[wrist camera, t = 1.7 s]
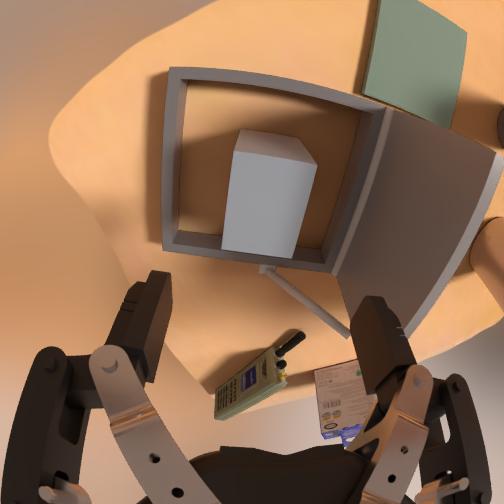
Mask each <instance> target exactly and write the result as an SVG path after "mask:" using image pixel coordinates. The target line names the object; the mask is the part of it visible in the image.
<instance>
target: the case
mask: <svg viewBox="0 0 504 504" xmlns="http://www.w3.org/2000/svg"><path fill="white" fill-rule="evenodd" d="M188 79H195V80H211V81H222V82H232V83H241V84H248V85H256V86H262V87H268V88H274V89H280V90H285V91H290V92H295V93H299V94H304V95H308V96H313V97H317V98H321V99H325V100H328V101H332V102H336V103H339V104H343V105H346V106H349V107H353V108H356V109H359V110H362V113H361V117H360V121H359V125H358V129H357V133H356V137H355V140H354V144H353V148H352V151H351V155H350V159H349V162H348V165H347V169H346V172H345V176H344V179H343V182H342V186H341V189H340V192H339V195H338V199H337V202H336V205H335V208H334V211H333V214H332V217H331V220H330V223H329V226H328V229H327V232H326V235H325V238H324V241H323V244H322V247H321V250H319V249H312V248H305V247H298V246H295V249H294V253H293V256H292V259H290V258H283V257H275V256H268V255H260V254H253V253H245V252H238V251H231V250H223V249H221V248H222V239H223V236H219V235H211V234H204V233H196V232H189V231H181V230H178V211H179V182H180V163H181V147H182V134H183V123H184V113H185V103H186V94H187V86H188ZM503 168H504V158H503V157H502V156H500V155H499V154H498V153H496V152H494V151H493V150H491V149H489V148H487V147H485V146H483V145H481V144H479V143H477V142H475V141H473V140H471V139H469V138H467V137H465V136H462V135H460V134H458V133H456V132H453V131H451V130H449V129H446V128H444V127H442V126H439V125H437V124H434V123H431V122H429V121H426V120H423V119H421V118H418V117H415V116H412V115H409V114H406V113H403V112H400V111H397V110H394V109H391V108H388V107H385V106H383V105H380V104H377V103H375V102H372V101H369V100H366V99H363V98H360V97H357V96H354V95H351V94H348V93H344V92H341V91H337V90H334V89H330V88H327V87H323V86H319V85H315V84H311V83H307V82H302V81H298V80H293V79H288V78H283V77H278V76H272V75H266V74H260V73H253V72H245V71H237V70H227V69H216V68H200V67H169V75H168V84H167V93H166V103H165V115H164V129H163V148H162V179H161V217H162V249H163V251H168V252H175V253H182V254H189V255H196V256H203V257H211V258H218V259H226V260H233V261H240V262H248V263H256V264H259V274H266V275H267V276H268V277H269V278H271V279H272V280H273V281H274V282H276V283H277V284H278V285H279V286H281V287H282V288H283V289H284V290H286V291H287V292H288V293H289V294H291V295H292V296H293V297H294V298H296V299H297V300H298V301H299V302H301V303H302V304H303V305H304V306H306V307H307V308H308V309H309V310H311V311H312V312H313V313H314V314H316V315H317V316H318V317H319V318H321V319H322V320H323V321H324V322H326V323H327V324H328V325H329V326H331V327H332V328H333V329H334V330H336V331H337V332H338V333H339V334H341V335H342V336H343V337H344V338H346V339H348V338H349V336H350V335H351V333H350V330H349V329H348V328H347V327H346V326H344V325H343V324H342V323H340V322H339V321H338V320H337V319H335V318H334V317H333V316H331V315H330V314H329V313H328V312H326V311H325V310H324V309H322V308H321V307H320V306H319V305H317V304H316V303H315V302H313V301H312V300H311V299H310V298H308V297H307V296H306V295H305V294H303V293H302V292H301V291H299V290H298V289H297V288H296V287H294V286H293V285H292V284H290V283H289V282H288V281H287V280H285V279H284V278H283V277H281V276H280V275H279V274H278V273H276V272H275V271H276V268H277V266H279V267H286V268H294V269H302V270H310V271H318V272H326V273H331V274H332V275H333V276H335V277H337V280H338V283H339V286H340V289H341V292H342V296H343V299H344V302H345V305H346V308H347V312H348V315H349V318H350V322H351V319H352V317H353V316H354V314H355V312H356V310H357V309H358V307H359V305H360V303H361V302H362V300H363V298H364V297H365V296H367V295H369V296H381V297H383V298H384V300H385V302H386V304H387V306H388V308H389V309H391V310H392V311H393V312H394V313H395V315H396V316H397V317H398V319H399V321H400V323H401V326H402V329H403V330H404V333H405V337H407V340H408V338H409V337H410V336H411V335H412V333H413V332H414V331H415V330H416V328H417V327H418V326H419V324H420V323H421V322H422V320H423V319H424V318H425V316H426V315H427V314H428V312H429V311H430V309H431V308H432V307H433V305H434V304H435V302H436V301H437V299H438V298H439V296H440V295H441V293H442V292H443V290H444V289H445V287H446V286H447V284H448V283H449V281H450V279H451V278H452V276H453V275H454V273H455V271H456V270H457V268H458V266H459V265H460V263H461V261H462V259H463V258H464V256H465V254H466V252H467V250H468V248H469V247H470V245H471V243H472V241H473V239H474V237H475V235H476V233H477V231H478V229H479V227H480V225H481V223H482V221H483V219H484V216H485V214H486V212H487V210H488V207H489V205H490V203H491V200H492V198H493V195H494V193H495V190H496V188H497V185H498V183H499V180H500V177H501V174H502V171H503Z"/></svg>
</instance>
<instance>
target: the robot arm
mask: <svg viewBox="0 0 504 504" xmlns="http://www.w3.org/2000/svg"><path fill="white" fill-rule="evenodd" d="M470 263H471V266H472V267H473V269H474V270H475V271H476V273H477V274H478V275H479V277H480V278H481V280H482V281H483V282H484V284H485V285H486V287H487V288H488V290H489V291H490V292H491V294H492V295H493V297H494V298H495V300H496V301H497V303H498V304H499V306H500V307H501V309H502V311H503V312H504V218H502V217H499V218H495V219H493V220H492V221H490V222H489V223H488V224H487V225H486V226H485V227H484V228H483V229H482V230H481V232H480V233H479V234H478V236H477V238H476V239H475V241H474V244H473V246H472V249H471V253H470ZM172 304H173V299H172V282H171V273H169V272H162V271H155V270H152V271H151V272H150V274H149V276H148V279H147V281H146V283H145V282H139V281H137V282H136V283H135V284H134V285H133V286H132V287H131V288H130V289H129V290H128V292H127V294H126V296H125V298H124V302H123V303H122V305H121V308H120V311H119V312H118V314H117V316H116V319H115V321H114V324H113V326H112V329H111V331H110V334H109V336H108V338H107V340H106V343H105V344H104V346H101V347H99V348H98V349H96V350H95V351H94V352H93V353H92V354H90V355H83V356H82V355H81V356H66V355H65V353H64V352H63V351H62V350H61V349H59V348H57V347H53V346H51V347H46V348H44V349H42V350H41V351H39V352H38V354H37V355H36V357H35V359H34V361H33V364H32V366H31V369H30V372H29V374H28V377H27V380H26V383H25V386H24V388H23V391H22V394H21V398H20V401H19V404H18V407H17V411H16V414H15V418H14V421H13V425H12V429H11V433H10V438H9V442H8V448H7V453H6V458H5V464H4V470H3V478H2V487H1V504H91V499H90V497H89V495H88V493H87V492H86V491H85V490H84V489H83V488H82V487H81V486H79V485H78V482H79V474H80V467H81V459H82V452H83V446H84V441H85V435H86V430H87V425H88V420H89V415H90V411H91V409H92V408H93V409H95V408H104V409H105V411H106V413H107V416H108V418H109V420H110V428H111V431H112V433H113V435H114V437H115V440H116V442H117V444H118V446H119V448H120V450H121V452H122V454H123V455H124V457H125V459H126V461H127V463H128V465H129V466H130V468H131V470H132V471H133V473H134V475H135V477H136V478H137V480H138V482H139V483H140V485H141V486H142V488H143V490H144V491H145V493H146V494H147V496H146V497H145V498H143V499H142V500H141V501H139V502H138V503H137V504H490V501H491V497H492V490H491V481H490V473H489V467H488V461H487V456H486V450H485V445H484V441H483V436H482V432H481V428H480V424H479V420H478V417H477V413H476V410H475V407H474V403H473V400H472V397H471V394H470V391H469V388H468V385H467V382H466V381H465V379H464V378H463V377H462V376H461V375H459V374H452V375H450V376H449V377H448V378H447V379H446V380H441V379H437V378H433V377H432V375H431V373H430V372H429V370H428V369H426V368H425V367H424V366H422V365H417V363H416V360H415V357H414V355H413V352H412V350H411V347H410V345H409V342H408V340H407V337H405V333H404V330H403V329H402V326H401V323H400V321H399V319H398V317H397V316H396V315H395V313H394V312H393V311H392V310H391V309H389V308H388V306H387V304H386V302H385V300H384V298H383V297H381V296H369V295H367V296H365V297H364V298H363V300H362V302H361V303H360V305H359V307H358V309H357V310H356V312H355V314H354V316H353V317H352V319H351V322H350V333H351V337H352V340H353V344H354V347H355V351H356V355H357V358H358V362H359V366H360V370H361V374H362V378H363V382H364V386H365V390H366V395H373V394H376V395H377V399H376V400H375V401H374V403H373V405H372V407H371V409H370V411H369V413H368V415H367V417H366V419H365V421H364V423H363V425H362V427H361V429H360V431H359V433H358V435H357V436H356V437H355V438H354V439H353V441H351V443H350V444H349V445H348V446H347V448H346V449H345V450H344V444H334V445H325V446H316V447H312V448H309V449H306V450H303V451H300V452H296V453H293V454H289V455H281V454H277V453H272V452H268V451H264V450H260V449H256V448H245V447H229V446H221V447H220V450H219V451H214V452H210V453H205V454H203V455H200V456H197V457H195V458H193V459H191V460H190V461H188V460H187V459H186V457H185V456H184V454H183V453H182V451H181V450H180V448H179V447H178V445H177V444H176V442H175V441H174V439H173V438H172V436H171V434H170V433H169V431H168V430H167V428H166V426H165V425H164V423H163V421H162V420H161V418H160V416H159V414H158V413H157V411H156V410H155V408H154V407H153V405H152V404H151V402H150V400H149V398H148V396H147V394H146V393H145V390H144V387H145V382H150V383H154V379H155V375H156V371H157V367H158V363H159V358H160V354H161V350H162V347H163V343H164V339H165V335H166V331H167V327H168V324H169V320H170V316H171V312H172ZM444 414H446V417H447V421H448V425H449V429H450V439H449V441H448V442H447V443H445V440H444V435H443V430H442V426H441V422H440V417H442V416H443V415H444ZM418 462H419V467H420V476H421V485H422V490H421V492H420V493H418V494H417V495H416V496H415V499H414V500H415V502H414V501H412V500H411V499H410V498H409V497H408V496H407V495H406V494H405V493H406V491H407V488H408V486H409V484H410V482H411V479H412V477H413V475H414V472H415V470H416V467H417V465H418Z"/></svg>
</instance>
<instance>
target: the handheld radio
mask: <svg viewBox="0 0 504 504" xmlns="http://www.w3.org/2000/svg"><path fill="white" fill-rule="evenodd" d="M305 338H306V335H305V334H304V333H303V332H302V331H299V332H298V333H297V334H296V335H294V336H293V337H292V338H291V339H290V340H288V341H287V342H286V343H285V344H284V345H282V347H281V348H276V347H270V348H269V349H268V350H267V351H265V352H264V353H263V354H262V355H260V356H259V357H258V358H257V359H255V360H254V361H253V362H252V363H250V364H249V365H248V366H247V367H245V368H244V369H243V370H242V371H240V372H239V373H238V374H236V375H235V376H234V377H233V378H231V379H230V380H229V381H227V382H226V383H225V384H223V385H222V386H221V387H219V388H218V389H217V390H216V393H215V411H214V418H215V419H216V420H222V421H223V420H227V419H228V418H230V417H232V416H234V415H236V414H238V413H240V412H242V411H244V410H246V409H248V408H250V407H251V406H253V405H255V404H257V403H259V402H261V401H262V400H264V399H266V398H268V397H269V396H271V395H273V394H274V393H276V392H278V391H279V390H281V389H283V388H284V387H285V386H286V385H287V384H288V382H286V380H285V378H286V377H287V374H286V373H285V369H284V368H285V367H286V365H287V363H286V361H285V360H284V359H283V356H284V355H285V353H286V352H288V351H290V350H291V349H292V348H294V347H295V346H296V345H297V344H299V343H300V342H301V341H303V340H304V339H305Z"/></svg>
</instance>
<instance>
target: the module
mask: <svg viewBox="0 0 504 504" xmlns="http://www.w3.org/2000/svg"><path fill="white" fill-rule="evenodd" d="M317 166H318V165H317V163H316V162H315V161H314V159H313V158H312V156H311V155H310V153H309V152H308V151H307V149H306V148H305V146H304V145H303V144H302V142H301V141H300V139H299V138H295V137H290V136H284V135H279V134H273V133H267V132H261V131H255V130H248V129H241V130H240V133H239V136H238V139H237V142H236V145H235V148H234V153H233V160H232V167H231V175H230V182H229V190H228V198H227V206H226V214H225V222H224V231H223V239H222V248H221V249H223V250H231V251H238V252H245V253H253V254H260V255H268V256H275V257H283V258H290V259H292V256H293V253H294V249H295V246H296V243H297V239H298V236H299V232H300V229H301V225H302V222H303V218H304V214H305V211H306V207H307V204H308V200H309V196H310V192H311V189H312V185H313V181H314V177H315V174H316V170H317Z"/></svg>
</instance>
